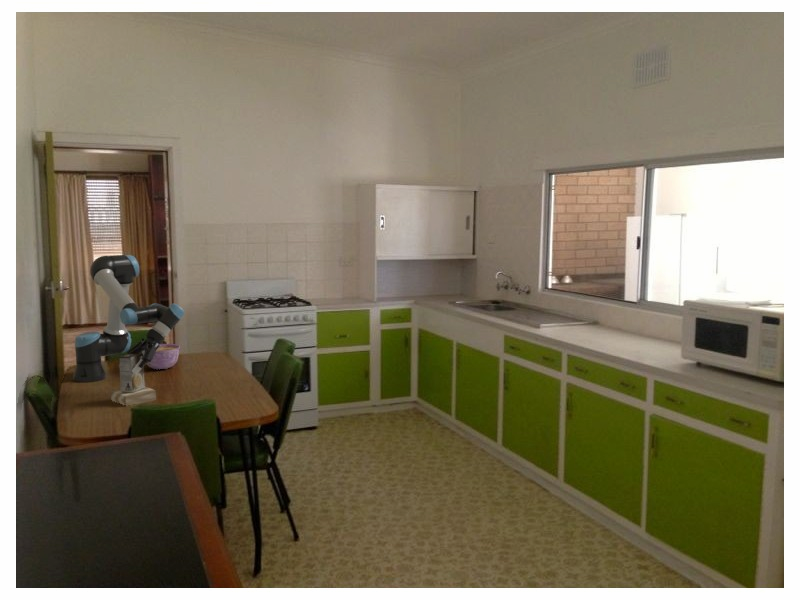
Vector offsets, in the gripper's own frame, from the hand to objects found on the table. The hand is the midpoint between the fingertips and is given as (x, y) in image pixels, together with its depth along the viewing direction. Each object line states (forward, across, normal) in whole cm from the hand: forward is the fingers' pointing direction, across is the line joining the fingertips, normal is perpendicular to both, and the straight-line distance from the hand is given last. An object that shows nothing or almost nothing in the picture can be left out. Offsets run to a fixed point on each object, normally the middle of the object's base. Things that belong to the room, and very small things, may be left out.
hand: (127, 370), depth 300 cm
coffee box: (+5, 0, -9) cm, 10 cm away
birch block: (+9, 0, -12) cm, 15 cm away
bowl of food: (-18, +51, -39) cm, 67 cm away
